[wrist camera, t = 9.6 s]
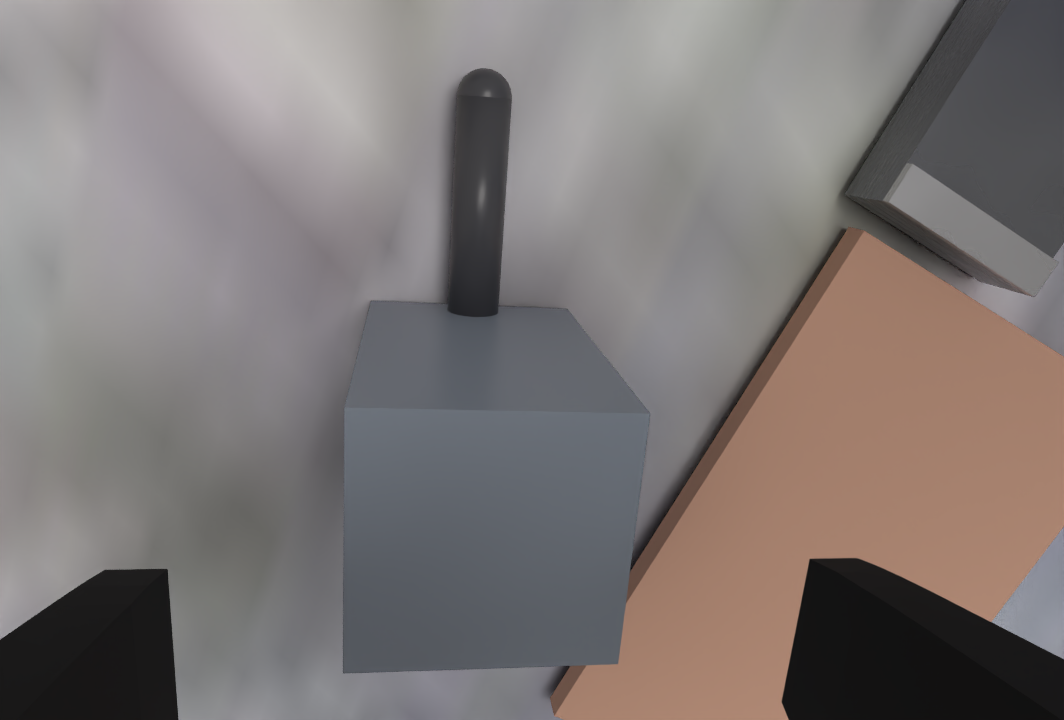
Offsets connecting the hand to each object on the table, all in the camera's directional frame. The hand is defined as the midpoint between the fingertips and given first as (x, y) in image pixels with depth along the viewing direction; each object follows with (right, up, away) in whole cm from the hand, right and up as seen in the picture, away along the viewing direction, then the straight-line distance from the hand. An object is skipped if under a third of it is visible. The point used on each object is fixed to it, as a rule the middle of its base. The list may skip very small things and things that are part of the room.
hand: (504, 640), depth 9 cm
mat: (+8, -1, +10) cm, 13 cm away
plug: (-1, +4, +7) cm, 8 cm away
